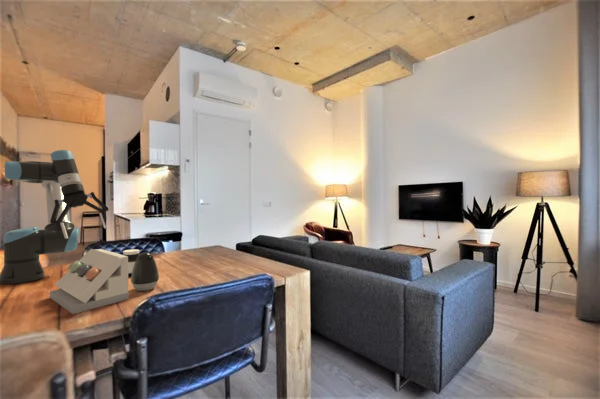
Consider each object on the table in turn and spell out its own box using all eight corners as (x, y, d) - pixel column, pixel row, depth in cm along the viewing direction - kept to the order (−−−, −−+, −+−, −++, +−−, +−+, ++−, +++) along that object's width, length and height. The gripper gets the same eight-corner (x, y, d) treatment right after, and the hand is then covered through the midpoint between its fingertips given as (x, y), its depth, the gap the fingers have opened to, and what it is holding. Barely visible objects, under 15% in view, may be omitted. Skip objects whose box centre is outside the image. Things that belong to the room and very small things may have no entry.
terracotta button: (83, 280, 103) (82, 268, 103) (97, 277, 106) (97, 265, 106) (87, 282, 100) (87, 269, 100) (102, 279, 104) (102, 267, 104)
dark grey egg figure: (140, 295, 114) (139, 256, 113) (125, 290, 119) (125, 253, 119) (164, 288, 122) (164, 251, 122) (150, 283, 128) (149, 249, 128)
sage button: (66, 272, 113) (66, 261, 113) (80, 270, 116) (80, 259, 116) (70, 274, 110) (70, 262, 110) (84, 272, 114) (84, 260, 114)
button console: (49, 297, 110) (49, 254, 110) (101, 286, 124) (101, 247, 124) (72, 314, 96) (72, 263, 95) (128, 299, 109) (128, 255, 109)
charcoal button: (74, 276, 108) (74, 264, 108) (88, 274, 111) (88, 262, 111) (78, 278, 105) (78, 266, 105) (93, 275, 109) (92, 263, 109)
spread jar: (144, 274, 143) (144, 250, 143) (120, 279, 134) (120, 254, 134) (131, 270, 150) (131, 247, 150) (107, 275, 140) (107, 251, 140)
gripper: (31, 190, 115) (46, 241, 113) (104, 176, 128) (119, 222, 127) (36, 195, 121) (51, 243, 120) (106, 181, 134) (120, 225, 133)
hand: (86, 232), depth 123 cm, fingers open, 13 cm apart
